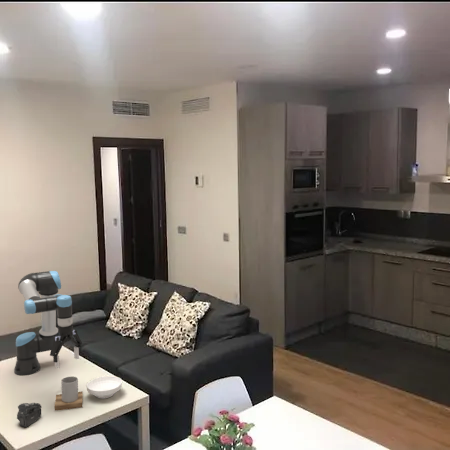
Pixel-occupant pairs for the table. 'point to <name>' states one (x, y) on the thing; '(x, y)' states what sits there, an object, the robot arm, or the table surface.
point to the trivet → (63, 405)
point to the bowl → (104, 386)
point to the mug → (69, 389)
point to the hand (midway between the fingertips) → (67, 363)
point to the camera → (28, 413)
